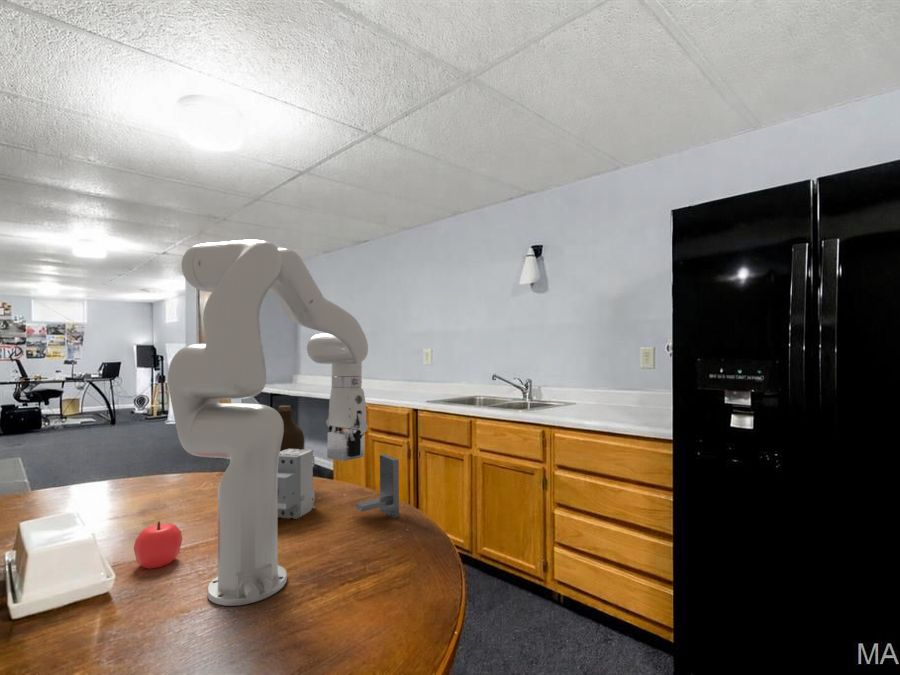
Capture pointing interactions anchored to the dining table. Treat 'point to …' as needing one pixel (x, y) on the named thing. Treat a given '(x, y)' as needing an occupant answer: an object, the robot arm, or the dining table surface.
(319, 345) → the robot arm
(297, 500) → the circuit breaker
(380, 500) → the grey l-shaped bracket part
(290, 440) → the olive oil
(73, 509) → the dining table surface
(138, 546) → the apple
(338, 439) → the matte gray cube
